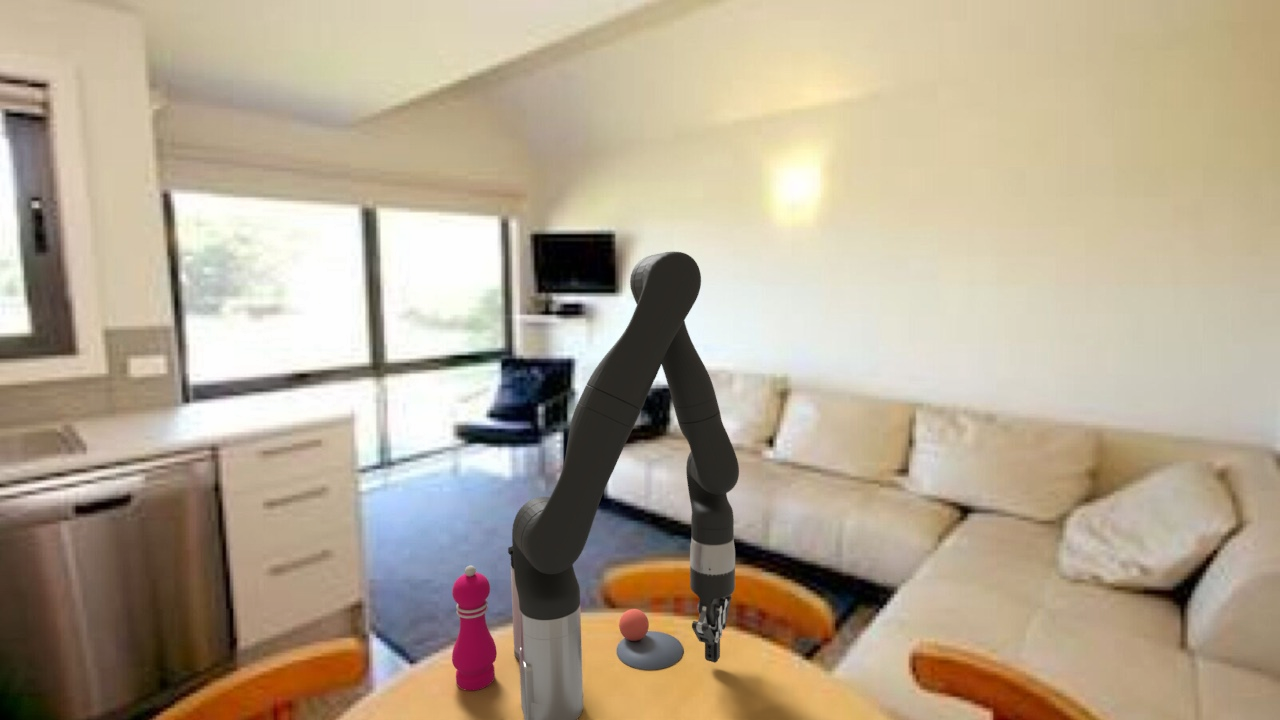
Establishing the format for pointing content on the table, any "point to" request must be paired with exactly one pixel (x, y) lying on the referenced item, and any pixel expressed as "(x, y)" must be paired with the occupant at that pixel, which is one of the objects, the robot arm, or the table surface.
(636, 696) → the table surface
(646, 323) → the robot arm
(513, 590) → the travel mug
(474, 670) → the pepper mill
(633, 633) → the ball
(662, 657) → the disc
